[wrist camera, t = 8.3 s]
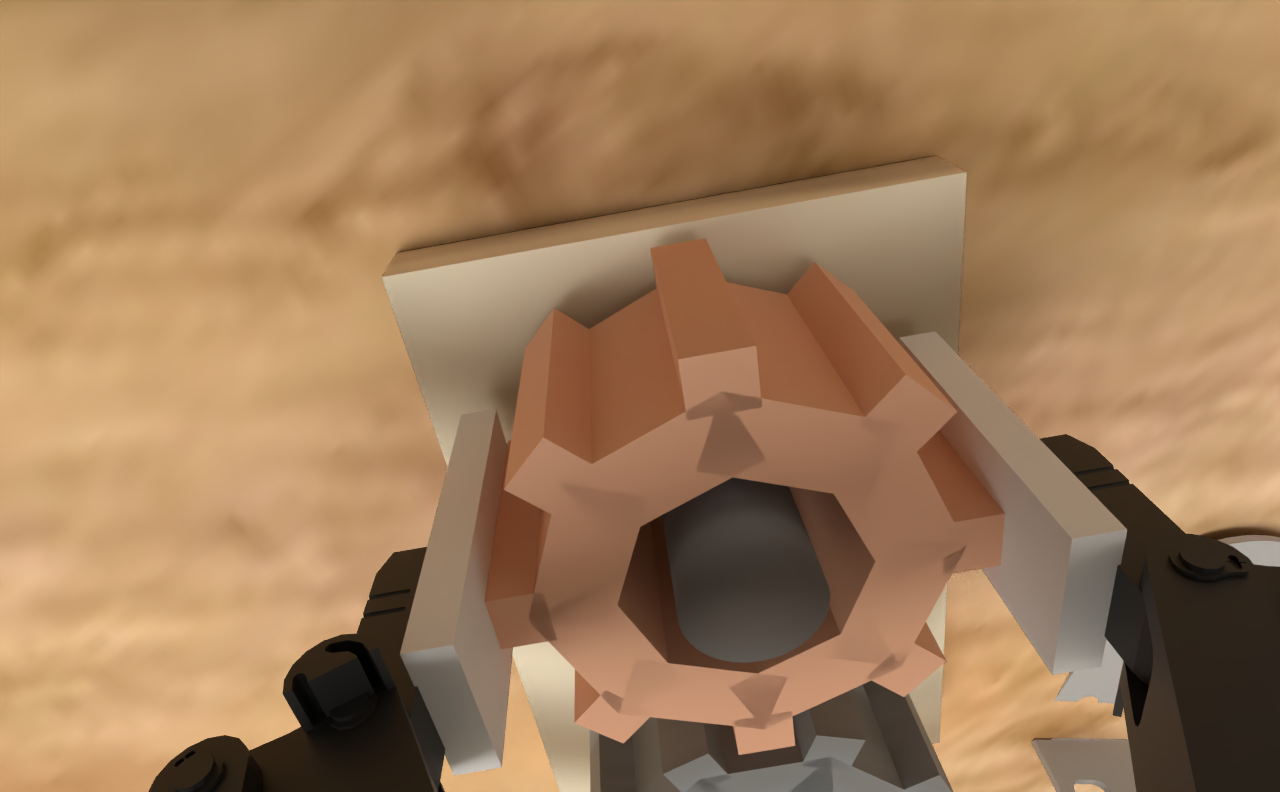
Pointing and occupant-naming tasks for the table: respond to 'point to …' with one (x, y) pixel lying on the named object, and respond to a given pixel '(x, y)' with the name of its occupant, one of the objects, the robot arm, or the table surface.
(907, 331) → the gear board
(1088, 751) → the bracket
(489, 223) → the table surface
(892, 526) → the gear
